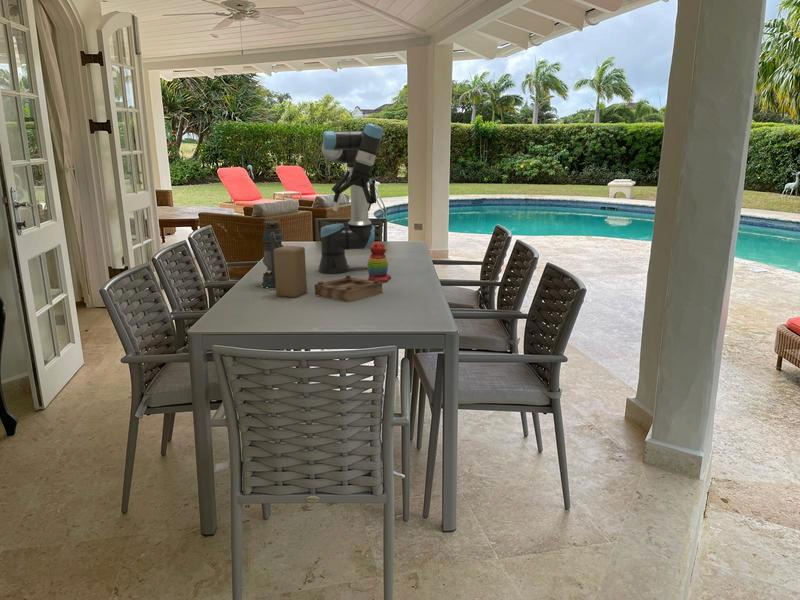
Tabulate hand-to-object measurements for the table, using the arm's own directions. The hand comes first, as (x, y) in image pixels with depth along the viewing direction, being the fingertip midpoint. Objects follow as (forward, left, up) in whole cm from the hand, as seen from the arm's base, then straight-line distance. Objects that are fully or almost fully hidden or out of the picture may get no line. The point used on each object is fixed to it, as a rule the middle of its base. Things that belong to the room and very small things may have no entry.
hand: (348, 214), depth 245 cm
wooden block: (-20, -16, -34) cm, 42 cm away
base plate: (-1, -1, -33) cm, 33 cm away
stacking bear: (-10, +28, -34) cm, 45 cm away
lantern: (-39, -8, -34) cm, 52 cm away
